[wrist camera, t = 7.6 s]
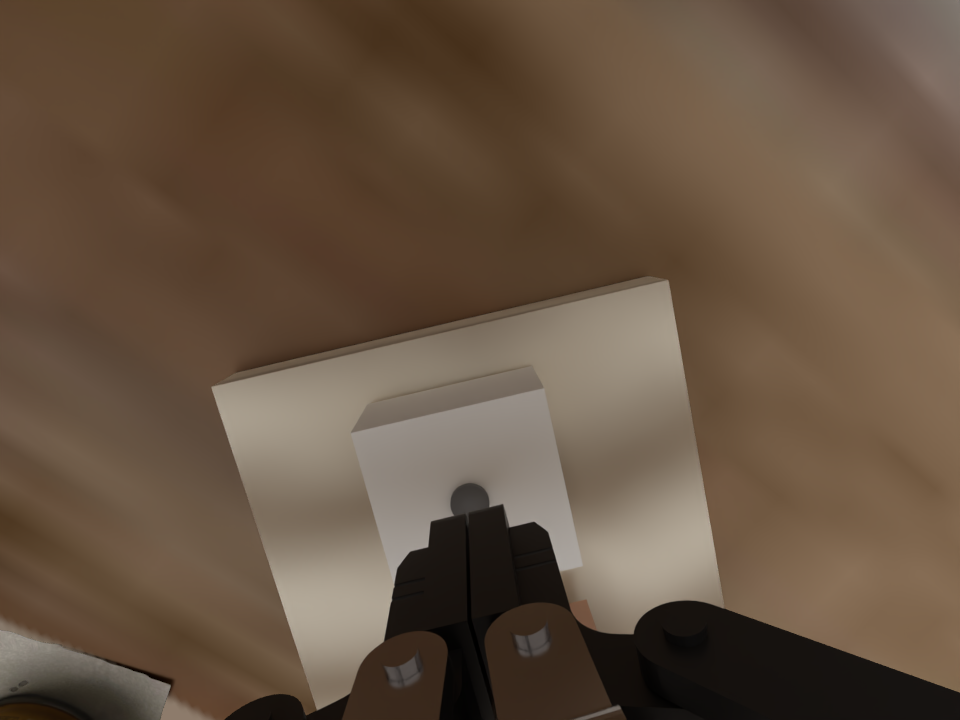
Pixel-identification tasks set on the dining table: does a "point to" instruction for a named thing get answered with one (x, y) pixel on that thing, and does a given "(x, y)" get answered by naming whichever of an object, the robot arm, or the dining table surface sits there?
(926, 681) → the robot arm
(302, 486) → the board
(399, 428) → the light grey square block
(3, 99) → the dining table surface
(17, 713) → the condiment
